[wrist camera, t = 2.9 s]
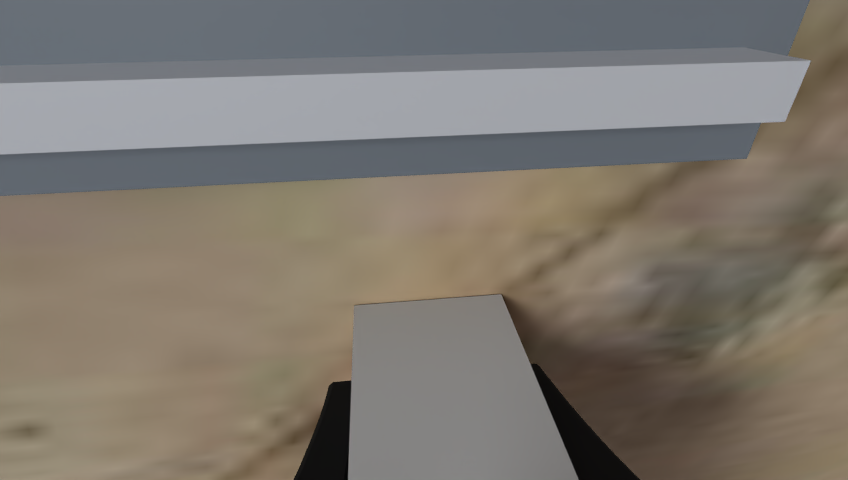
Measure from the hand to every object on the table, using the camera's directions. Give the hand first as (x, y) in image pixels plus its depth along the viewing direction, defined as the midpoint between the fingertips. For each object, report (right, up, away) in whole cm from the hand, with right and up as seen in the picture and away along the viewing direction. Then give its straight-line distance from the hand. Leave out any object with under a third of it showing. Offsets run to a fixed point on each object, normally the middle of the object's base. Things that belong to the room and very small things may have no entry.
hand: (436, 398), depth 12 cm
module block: (0, +1, +1) cm, 2 cm away
